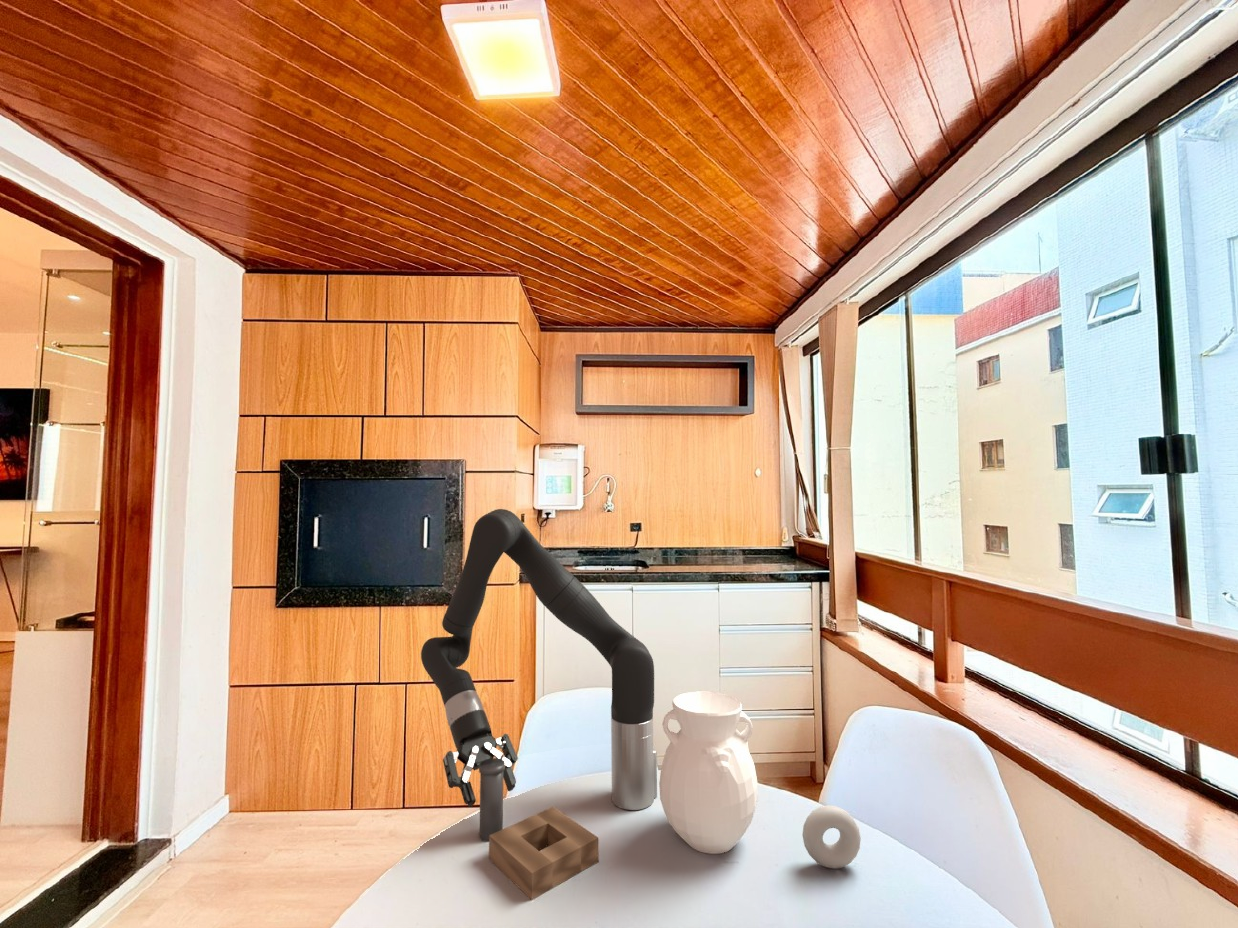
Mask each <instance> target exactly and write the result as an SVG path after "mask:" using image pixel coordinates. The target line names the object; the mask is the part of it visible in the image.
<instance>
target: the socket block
mask: <svg viewBox="0 0 1238 928" xmlns="http://www.w3.org/2000/svg"><path fill="white" fill-rule="evenodd" d="M488 842H489V843H488V860H489V861H490V862H491V863H492V864H493V865H495V867H496V868H497V869H499V870H500V872H501V873H503V874H504V875H505V876H506V877H507V878H508V879H509V880H510V881H511V882H512V883H513V884H514V885H515V886H517V887H518V889H519V890H520V891H522V893H524V894H525V895H526V896H527V897H528V898H529V899H530V900H531V901H533V900H535V899H536V898H538V897H540V896H541V895H543V894H546V892H549V891H550V890H552V889H554V888H556V887H557V886H559V885H561V884H562V883H564V882H565V881H567V880H569V879H571V878H572V877H574V876H576V875H578V874H580V873H581V872H583V871H585V870H586V869H588V868H590V867H591V866H593V865H595V864H597V863H599V861H600V859H599V857H600V856H599V851H600V850H599V849H600V847H599V836H597V835H595V834H594V833H592V832H591V831H589V829H586V828H585V827H584V826H583V825H580V824H579V823H577V822H576V821H575V820H573V819H572V818H570V817H569V816H567V815H566V814H565V813H563V812H561V811H560V810H559V809H557V808H556V807H554V806H552V807H550V808H547V809H545V810H542V811H541V812H538V813H536V814H533V815H532V816H530V817H527V818H524V819H523V820H520V821H518V822H515V823H514V824H512V825H509V826H507V827H505V828H503V830H500V831H498V832H496V833H494V834H491V835H489V841H488Z"/></svg>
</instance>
